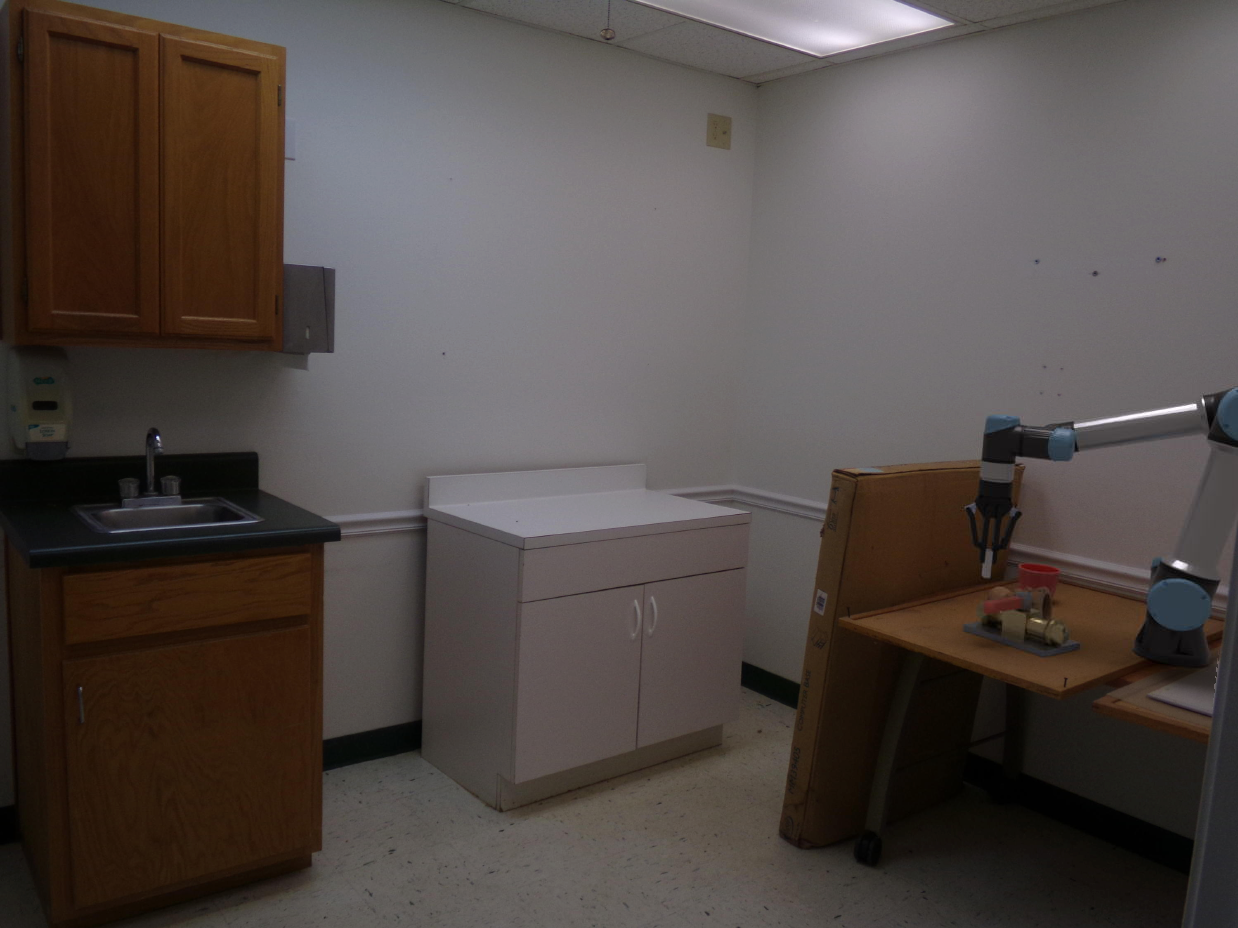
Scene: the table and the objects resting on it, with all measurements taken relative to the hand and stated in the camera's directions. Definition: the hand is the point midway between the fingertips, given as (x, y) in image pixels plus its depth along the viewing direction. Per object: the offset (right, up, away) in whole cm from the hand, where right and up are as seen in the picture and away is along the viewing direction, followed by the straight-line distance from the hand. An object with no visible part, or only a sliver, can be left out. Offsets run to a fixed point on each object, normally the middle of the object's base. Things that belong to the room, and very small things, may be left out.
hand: (985, 576), depth 219 cm
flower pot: (+29, -12, +38) cm, 49 cm away
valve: (+9, -15, +1) cm, 18 cm away
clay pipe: (+16, -14, +17) cm, 27 cm away
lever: (+4, -8, -3) cm, 9 cm away
